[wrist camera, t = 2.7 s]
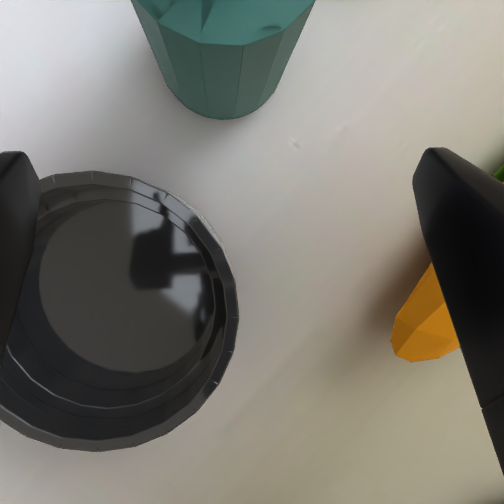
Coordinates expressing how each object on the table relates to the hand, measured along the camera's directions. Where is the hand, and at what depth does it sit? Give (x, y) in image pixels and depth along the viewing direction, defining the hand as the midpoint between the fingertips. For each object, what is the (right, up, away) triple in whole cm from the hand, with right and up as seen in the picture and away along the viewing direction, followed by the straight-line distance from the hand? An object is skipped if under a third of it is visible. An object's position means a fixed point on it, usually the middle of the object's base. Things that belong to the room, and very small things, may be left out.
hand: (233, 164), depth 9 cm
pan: (-7, -4, +13) cm, 16 cm away
